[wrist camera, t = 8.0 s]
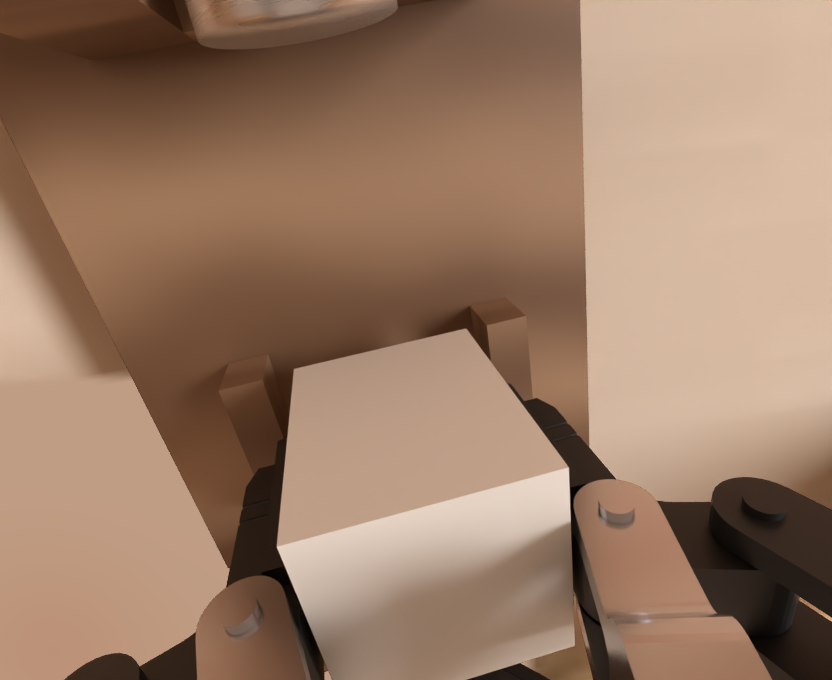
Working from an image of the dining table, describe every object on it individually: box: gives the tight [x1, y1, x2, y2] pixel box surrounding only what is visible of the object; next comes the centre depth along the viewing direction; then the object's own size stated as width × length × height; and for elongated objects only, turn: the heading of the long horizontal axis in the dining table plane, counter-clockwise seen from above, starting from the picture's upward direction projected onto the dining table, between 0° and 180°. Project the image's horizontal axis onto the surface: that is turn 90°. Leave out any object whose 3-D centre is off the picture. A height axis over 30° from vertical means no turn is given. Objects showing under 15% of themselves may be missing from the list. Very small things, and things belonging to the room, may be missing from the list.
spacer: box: [277, 329, 575, 680], centre depth 9 cm, size 4×4×5 cm
